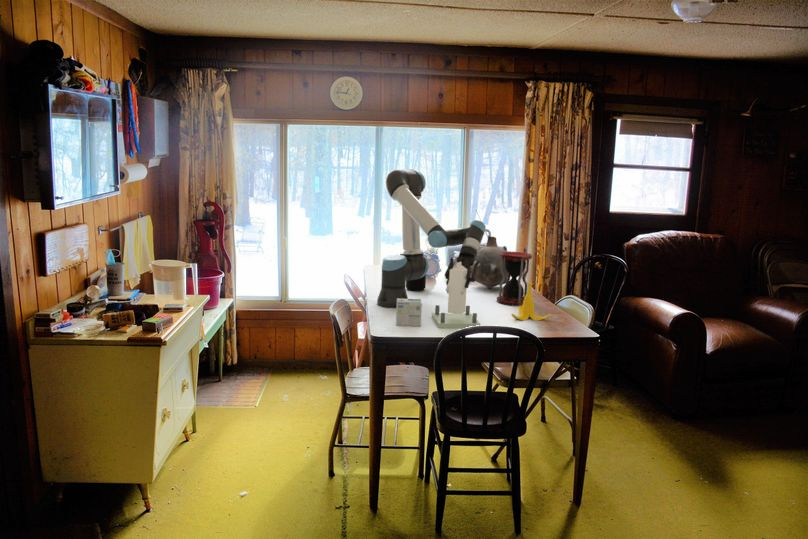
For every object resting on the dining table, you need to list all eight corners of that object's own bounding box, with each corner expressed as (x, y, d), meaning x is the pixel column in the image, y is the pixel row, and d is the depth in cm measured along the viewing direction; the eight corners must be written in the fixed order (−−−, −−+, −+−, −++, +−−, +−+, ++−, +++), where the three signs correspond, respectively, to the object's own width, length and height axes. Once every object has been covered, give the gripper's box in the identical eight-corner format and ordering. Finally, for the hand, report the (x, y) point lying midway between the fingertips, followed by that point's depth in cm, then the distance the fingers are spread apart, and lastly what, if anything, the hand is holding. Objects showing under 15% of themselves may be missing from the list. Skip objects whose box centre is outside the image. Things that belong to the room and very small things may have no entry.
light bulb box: (420, 322, 277) (421, 298, 275) (421, 326, 271) (422, 302, 269) (395, 321, 277) (396, 297, 275) (396, 326, 270) (396, 301, 268)
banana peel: (510, 321, 287) (512, 284, 284) (518, 312, 304) (521, 277, 301) (547, 326, 281) (550, 288, 278) (553, 316, 298) (556, 281, 295)
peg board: (438, 328, 269) (438, 314, 268) (431, 317, 287) (432, 304, 286) (480, 328, 271) (480, 314, 270) (470, 317, 289) (471, 304, 288)
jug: (518, 292, 350) (522, 237, 345) (483, 293, 343) (487, 238, 337) (495, 283, 373) (499, 232, 368) (463, 284, 365) (466, 232, 360)
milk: (447, 312, 277) (449, 262, 273) (452, 309, 282) (454, 260, 278) (460, 314, 274) (462, 263, 270) (465, 311, 280) (467, 261, 276)
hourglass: (491, 299, 330) (494, 251, 326) (519, 298, 335) (522, 251, 330) (505, 306, 315) (508, 256, 310) (534, 305, 320) (538, 256, 315)
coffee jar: (425, 288, 351) (427, 255, 348) (424, 292, 341) (426, 258, 338) (406, 286, 352) (407, 254, 349) (404, 290, 342) (406, 257, 339)
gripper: (491, 257, 284) (477, 300, 272) (451, 253, 292) (436, 294, 280) (488, 247, 278) (473, 290, 266) (447, 243, 286) (431, 284, 274)
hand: (454, 292), depth 273 cm, fingers closed on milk, 6 cm apart
